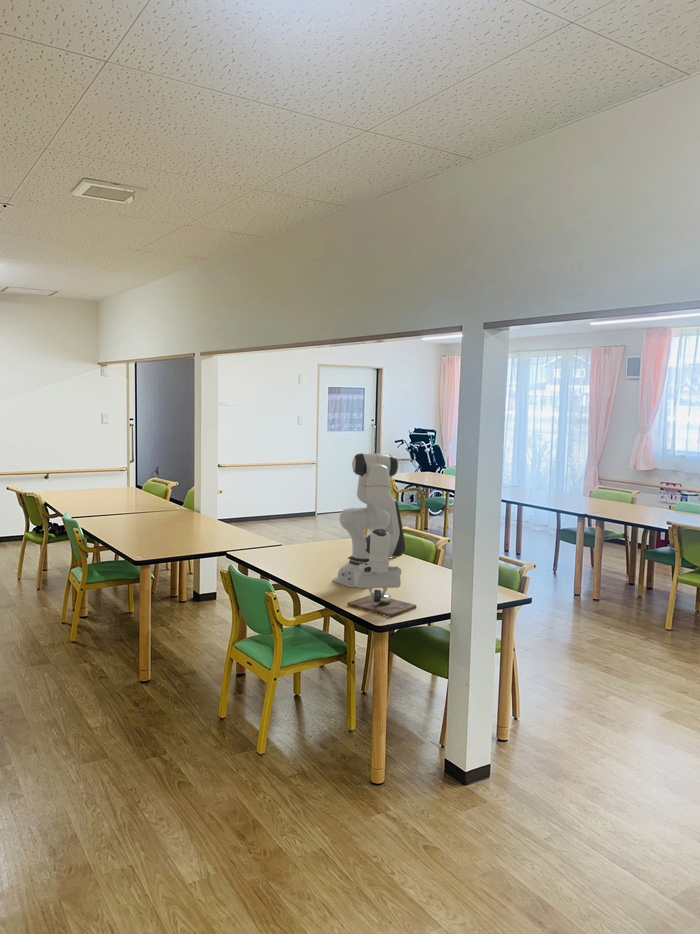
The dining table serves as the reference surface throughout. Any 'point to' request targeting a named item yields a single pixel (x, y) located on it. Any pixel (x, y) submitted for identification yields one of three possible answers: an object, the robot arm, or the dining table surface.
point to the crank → (379, 600)
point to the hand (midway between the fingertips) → (377, 597)
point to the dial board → (382, 606)
